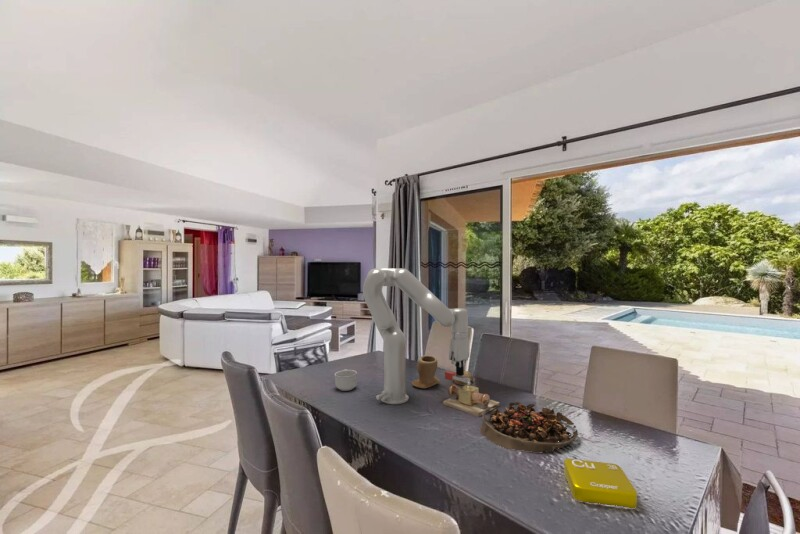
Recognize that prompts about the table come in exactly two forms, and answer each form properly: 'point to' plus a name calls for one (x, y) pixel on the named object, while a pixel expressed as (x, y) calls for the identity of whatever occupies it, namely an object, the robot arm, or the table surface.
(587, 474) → the element tile
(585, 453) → the table surface
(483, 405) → the valve pipe
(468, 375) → the bread roll
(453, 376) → the valve lever
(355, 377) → the teacup
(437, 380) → the stone cup
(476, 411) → the beige board
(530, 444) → the food dish
